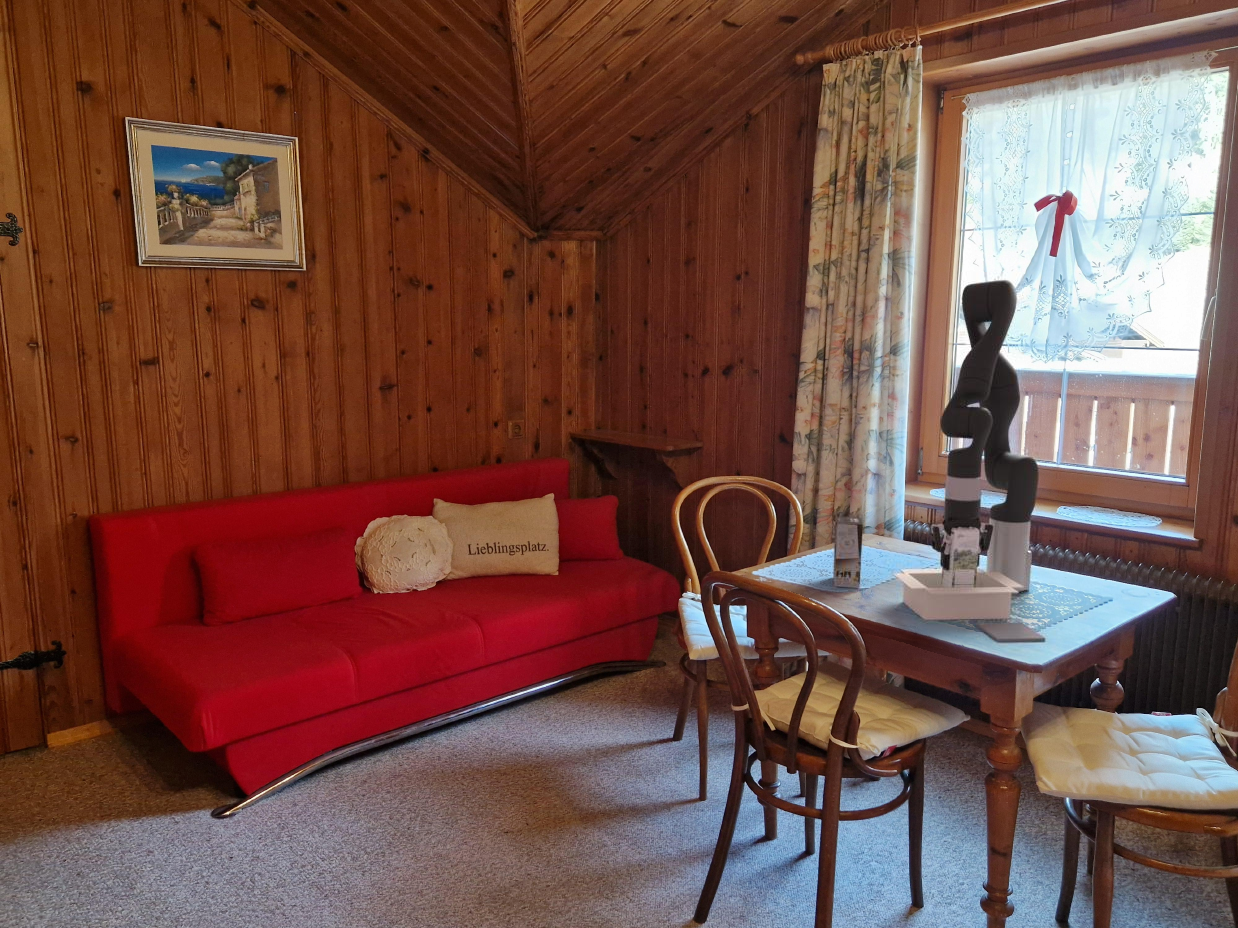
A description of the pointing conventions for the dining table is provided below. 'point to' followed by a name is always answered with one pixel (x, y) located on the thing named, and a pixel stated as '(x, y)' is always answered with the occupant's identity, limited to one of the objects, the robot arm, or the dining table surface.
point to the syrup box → (962, 559)
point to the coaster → (1010, 632)
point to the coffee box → (847, 551)
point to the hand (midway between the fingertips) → (959, 568)
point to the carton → (957, 595)
